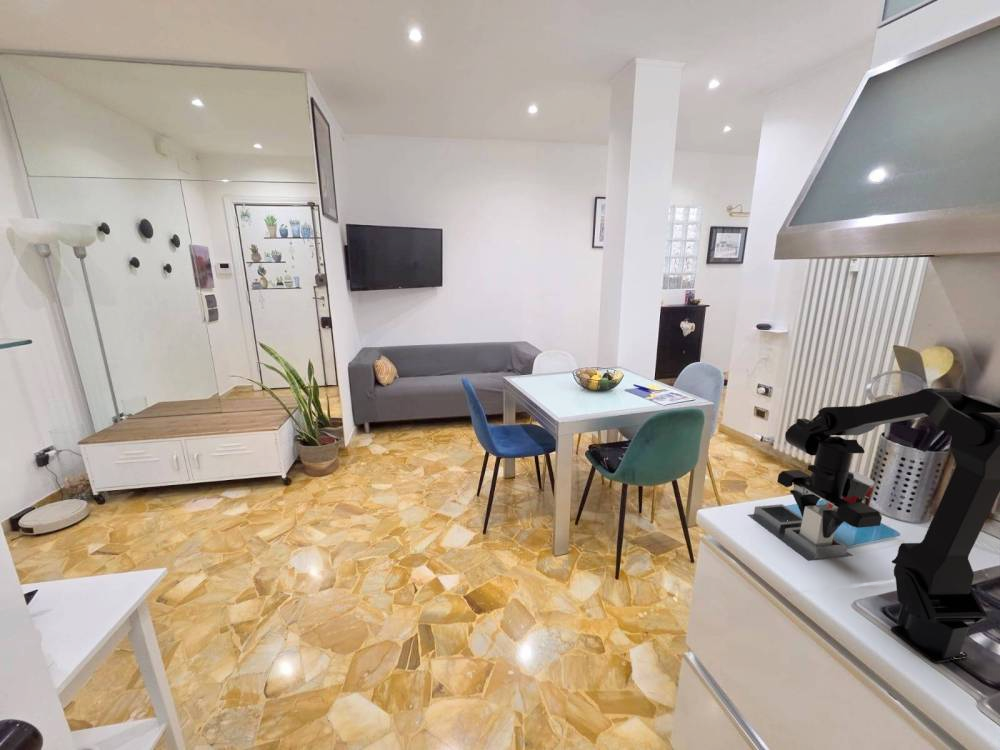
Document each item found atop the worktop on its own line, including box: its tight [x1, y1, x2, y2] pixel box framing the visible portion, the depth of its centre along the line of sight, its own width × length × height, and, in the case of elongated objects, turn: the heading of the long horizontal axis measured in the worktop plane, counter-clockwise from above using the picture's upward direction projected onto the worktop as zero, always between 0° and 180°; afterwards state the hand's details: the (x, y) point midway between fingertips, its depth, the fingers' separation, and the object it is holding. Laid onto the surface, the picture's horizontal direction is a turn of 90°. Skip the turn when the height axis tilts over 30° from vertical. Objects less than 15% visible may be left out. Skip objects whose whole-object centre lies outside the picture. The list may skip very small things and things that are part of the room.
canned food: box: [825, 470, 875, 510], centre depth 100 cm, size 8×8×11 cm
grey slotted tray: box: [747, 503, 853, 562], centre depth 93 cm, size 17×11×3 cm, turn 9°
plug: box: [799, 504, 835, 547], centre depth 88 cm, size 4×4×9 cm
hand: (816, 531), depth 88 cm, fingers closed on plug, 4 cm apart
